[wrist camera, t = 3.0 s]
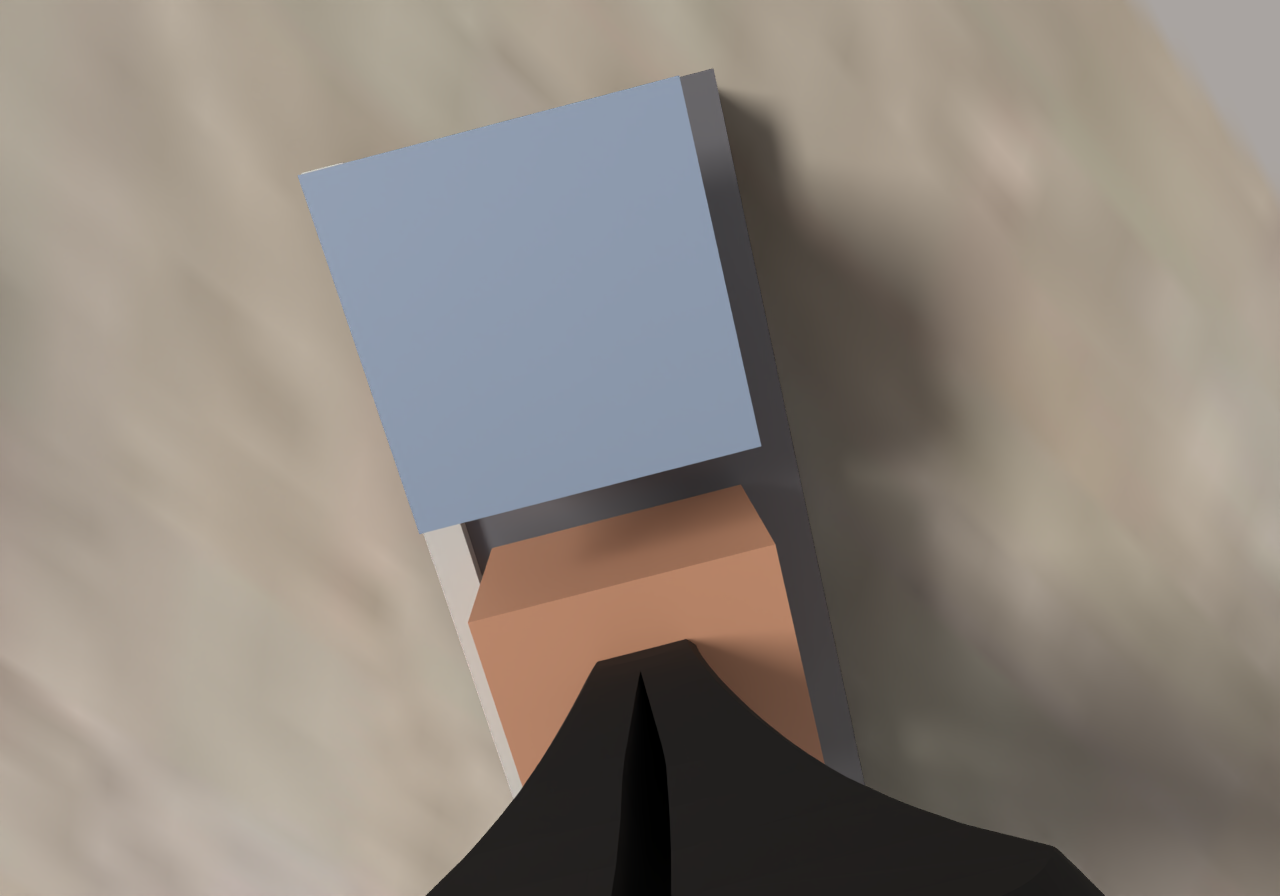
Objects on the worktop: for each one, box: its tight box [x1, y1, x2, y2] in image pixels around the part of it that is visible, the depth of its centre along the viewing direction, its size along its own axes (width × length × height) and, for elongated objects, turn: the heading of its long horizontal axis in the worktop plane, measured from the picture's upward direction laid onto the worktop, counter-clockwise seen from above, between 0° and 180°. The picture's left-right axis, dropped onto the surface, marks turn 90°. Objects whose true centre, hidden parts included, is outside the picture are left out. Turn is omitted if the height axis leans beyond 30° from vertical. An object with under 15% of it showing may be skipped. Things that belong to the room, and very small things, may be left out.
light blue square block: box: [298, 76, 761, 534], centre depth 10 cm, size 4×4×3 cm
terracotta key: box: [468, 485, 825, 787], centre depth 12 cm, size 4×4×3 cm
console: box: [301, 69, 865, 799], centre depth 15 cm, size 16×6×2 cm, turn 14°
